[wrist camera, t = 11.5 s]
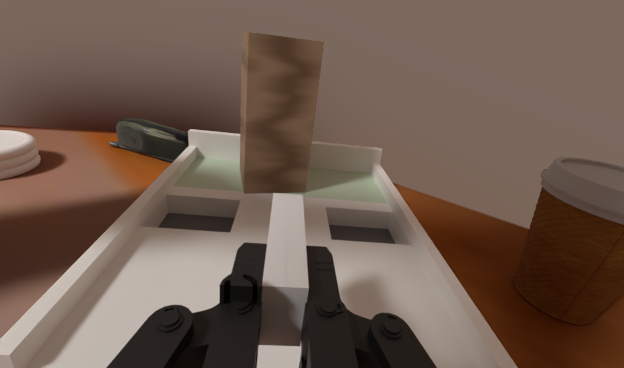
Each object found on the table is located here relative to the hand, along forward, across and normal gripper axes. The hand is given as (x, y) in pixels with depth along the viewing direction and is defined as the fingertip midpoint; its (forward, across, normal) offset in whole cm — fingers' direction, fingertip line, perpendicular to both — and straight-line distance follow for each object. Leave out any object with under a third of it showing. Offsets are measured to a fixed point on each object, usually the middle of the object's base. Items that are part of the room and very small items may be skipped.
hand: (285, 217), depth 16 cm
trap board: (+11, 0, -10) cm, 15 cm away
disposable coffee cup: (+6, +25, -10) cm, 28 cm away
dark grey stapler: (+32, -20, -10) cm, 39 cm away
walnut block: (+21, -2, -8) cm, 22 cm away
